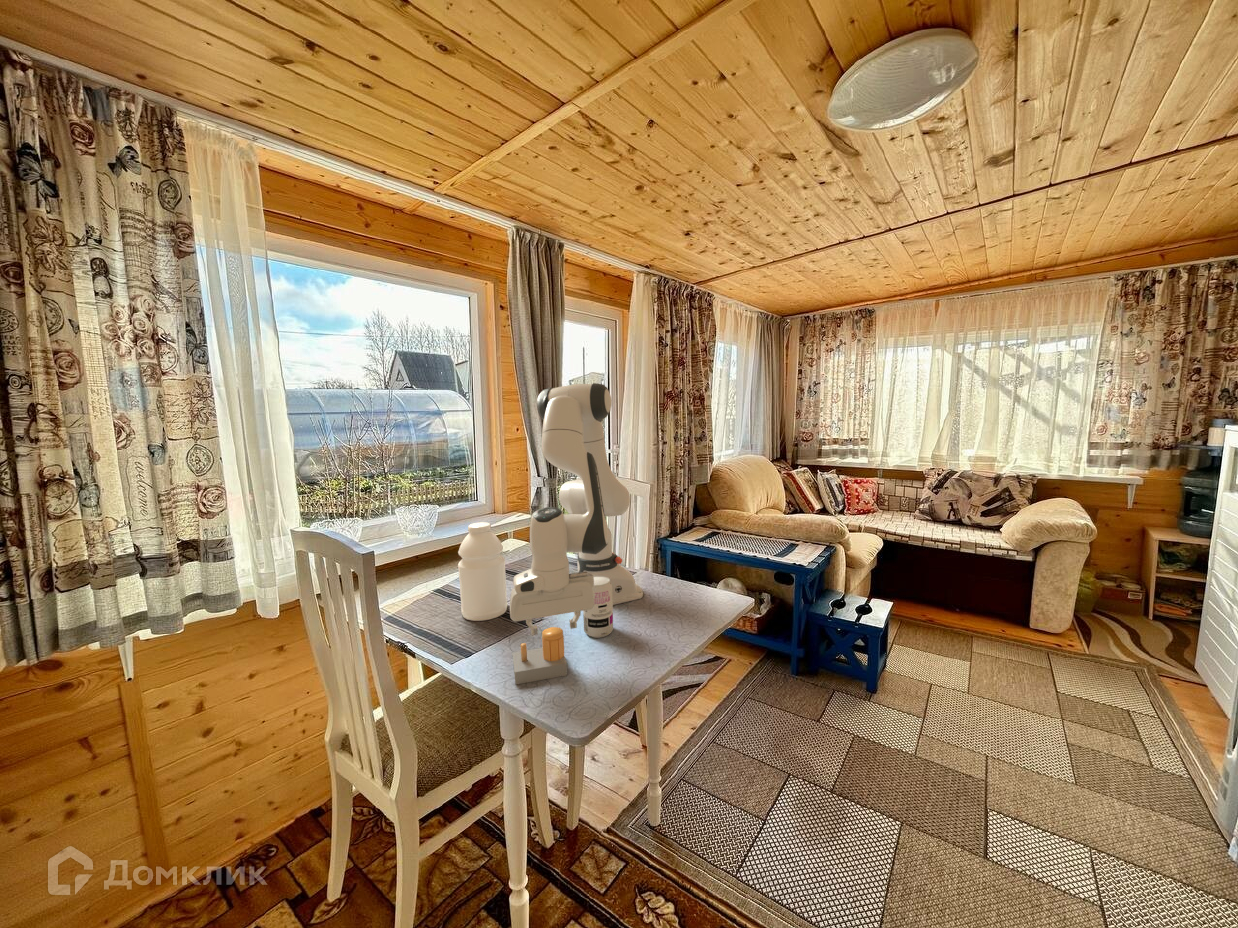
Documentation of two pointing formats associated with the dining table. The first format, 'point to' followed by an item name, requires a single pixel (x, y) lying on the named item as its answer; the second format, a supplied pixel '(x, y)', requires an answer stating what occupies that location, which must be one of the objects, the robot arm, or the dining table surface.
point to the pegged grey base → (536, 666)
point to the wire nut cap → (553, 644)
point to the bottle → (482, 574)
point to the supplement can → (600, 609)
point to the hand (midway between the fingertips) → (554, 630)
